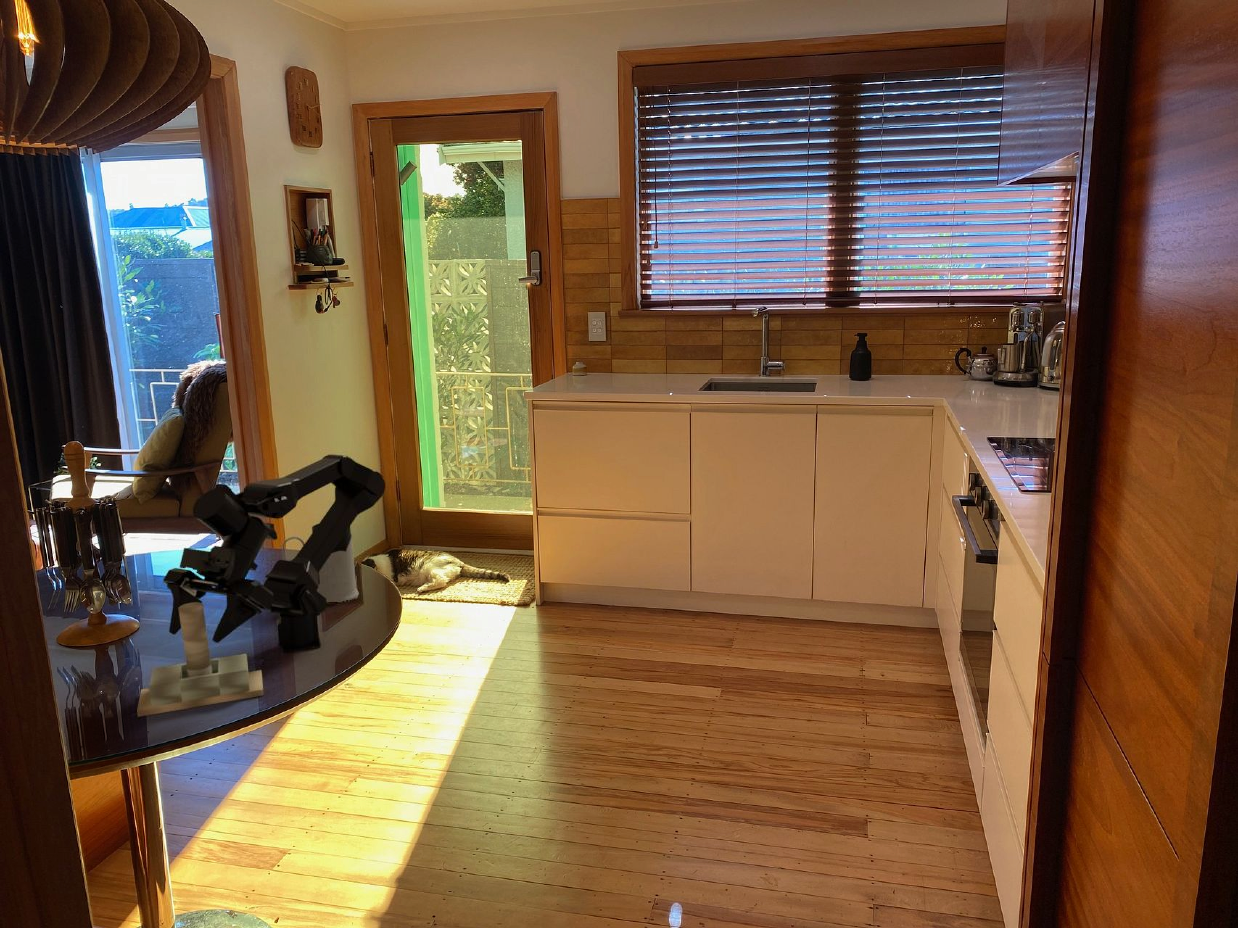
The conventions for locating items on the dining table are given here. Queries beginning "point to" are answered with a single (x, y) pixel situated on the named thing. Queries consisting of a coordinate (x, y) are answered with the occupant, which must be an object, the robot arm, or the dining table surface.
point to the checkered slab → (199, 686)
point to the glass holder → (336, 571)
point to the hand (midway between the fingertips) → (193, 637)
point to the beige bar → (195, 639)
